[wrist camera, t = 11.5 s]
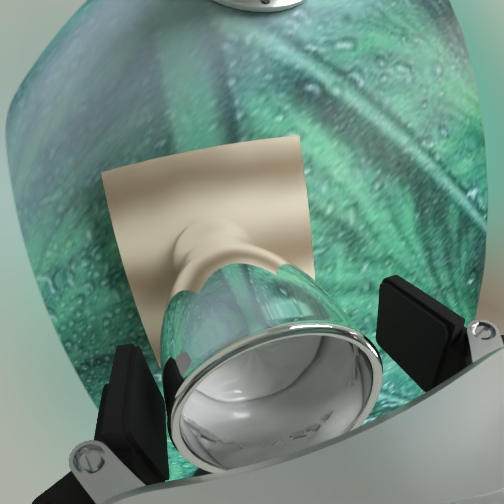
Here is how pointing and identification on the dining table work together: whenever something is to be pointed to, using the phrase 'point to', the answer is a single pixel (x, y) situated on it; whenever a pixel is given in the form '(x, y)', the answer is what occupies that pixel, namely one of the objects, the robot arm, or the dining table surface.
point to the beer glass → (256, 354)
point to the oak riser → (206, 211)
